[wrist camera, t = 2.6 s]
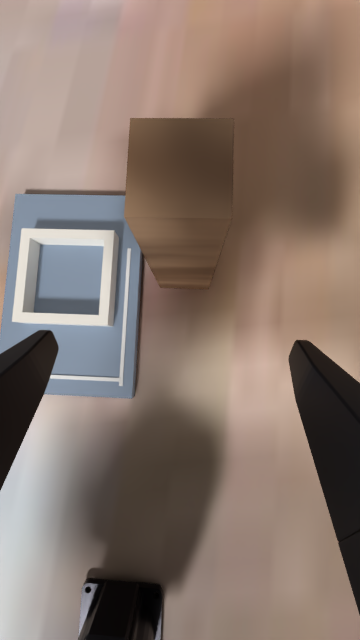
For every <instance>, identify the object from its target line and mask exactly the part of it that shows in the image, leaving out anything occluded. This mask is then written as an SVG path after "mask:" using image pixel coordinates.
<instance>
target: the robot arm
mask: <svg viewBox="0 0 360 640" xmlns="http://www.w3.org/2000/svg"><path fill="white" fill-rule="evenodd" d="M58 350H59V346H58V343H57V341H56V339H55V336H54V334H53V332H52V331H51V330H38V331H37V332H35V333H33V334H32V335H30V336H28V337H27V338H25V339H24V340H22V341H20V342H19V343H17V344H15V345H14V346H12V347H11V348H9V349H7V350H6V351H4V352H2V353H1V354H0V490H1V488H2V486H3V483H4V481H5V479H6V477H7V475H8V472H9V470H10V468H11V466H12V463H13V461H14V459H15V457H16V455H17V452H18V450H19V448H20V446H21V443H22V441H23V439H24V437H25V435H26V432H27V430H28V428H29V426H30V423H31V421H32V419H33V417H34V415H35V412H36V410H37V408H38V406H39V403H40V401H41V399H42V397H43V395H44V392H45V390H46V388H47V385H48V382H49V379H50V376H51V373H52V370H53V367H54V364H55V360H56V357H57V354H58ZM289 365H290V371H291V377H292V383H293V388H294V394H295V399H296V403H297V406H298V410H299V413H300V416H301V420H302V423H303V426H304V430H305V433H306V436H307V440H308V443H309V446H310V450H311V453H312V456H313V460H314V463H315V467H316V470H317V473H318V477H319V480H320V483H321V487H322V490H323V493H324V497H325V500H326V503H327V507H328V510H329V513H330V517H331V520H332V523H333V527H334V530H335V533H336V537H337V540H338V541H339V542H338V544H339V547H340V551H341V554H342V557H343V561H344V564H345V567H346V571H347V574H348V577H349V581H350V584H351V587H352V591H353V594H354V597H355V601H356V604H357V607H358V611H359V614H360V383H359V382H358V381H356V380H355V379H354V378H353V377H352V376H350V375H349V374H348V373H347V372H346V371H344V370H343V369H342V368H341V367H340V366H338V365H337V364H336V363H335V362H334V361H332V360H331V359H330V358H329V357H328V356H326V355H325V354H324V353H323V352H322V351H320V350H319V349H318V348H317V347H316V346H314V345H313V344H312V343H311V342H309V341H307V340H296V341H295V342H294V345H293V347H292V350H291V352H290V355H289ZM88 586H89V587H90V588H91V589H89V588H88ZM154 592H158V593H159V594H155V593H154ZM162 599H163V589H162V587H161V586H160V585H159V584H151V583H138V582H126V581H114V580H101V579H87V580H86V581H85V583H84V585H83V587H82V596H81V610H80V624H79V637H78V640H161V622H162Z"/></svg>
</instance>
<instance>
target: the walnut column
mask: <svg viewBox="0 0 360 640" xmlns="http://www.w3.org/2000/svg"><path fill="white" fill-rule="evenodd" d="M233 146H234V119H194V118H130V131H129V147H128V162H127V177H126V193H125V208H124V218H125V220H126V222H127V224H128V226H129V227H130V229H131V231H132V233H133V235H134V237H135V239H136V241H137V243H138V245H139V247H140V249H141V251H142V253H143V255H144V257H145V259H146V261H147V263H148V265H149V267H150V269H151V271H152V272H153V274H154V276H155V278H156V280H157V282H158V284H159V286H160V288H188V289H209V286H210V283H211V280H212V277H213V274H214V271H215V268H216V265H217V262H218V259H219V256H220V253H221V250H222V247H223V244H224V241H225V238H226V235H227V232H228V229H229V226H230V223H231V220H232V191H233Z"/></svg>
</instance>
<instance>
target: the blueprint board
mask: <svg viewBox="0 0 360 640" xmlns="http://www.w3.org/2000/svg"><path fill="white" fill-rule="evenodd" d="M124 208H125V196H113V195H52V194H16V195H15V204H14V213H13V222H12V232H11V241H10V250H9V259H8V268H7V278H6V287H5V296H4V305H3V314H2V324H1V333H0V354H1V353H2V352H4V351H6V350H7V349H9V348H11V347H12V346H14V345H15V344H17V343H19V342H20V341H22V340H24V339H25V338H27V337H28V336H30V335H32V334H33V333H35V332H37V331H38V330H51V331H52V332H53V334H54V336H55V339H56V341H57V343H58V346H59V350H58V354H57V357H56V360H55V364H54V367H53V370H52V373H51V376H50V379H49V382H48V385H47V388H46V390H45V392H44V394H52V395H72V396H92V397H112V398H131V399H132V398H133V397H134V396H135V379H136V361H137V344H138V326H139V308H140V291H141V273H142V256H143V253H142V251H141V249H140V247H139V245H138V243H137V241H136V239H135V237H134V235H133V233H132V231H131V229H130V227H129V226H128V224H127V222H126V220H125V218H124Z"/></svg>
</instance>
